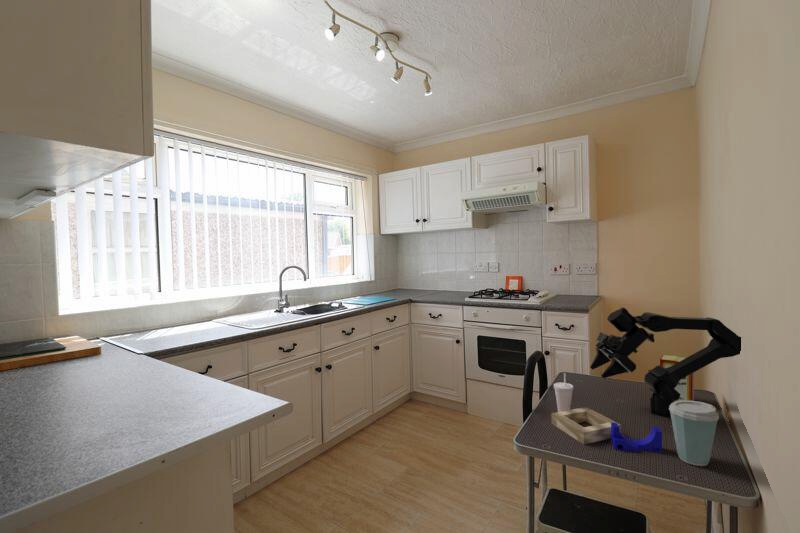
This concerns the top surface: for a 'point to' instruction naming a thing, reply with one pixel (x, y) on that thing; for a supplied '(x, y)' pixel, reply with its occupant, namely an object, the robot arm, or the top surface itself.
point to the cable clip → (648, 444)
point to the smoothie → (563, 395)
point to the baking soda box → (686, 383)
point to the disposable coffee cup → (694, 430)
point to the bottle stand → (583, 434)
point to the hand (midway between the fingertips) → (596, 372)
